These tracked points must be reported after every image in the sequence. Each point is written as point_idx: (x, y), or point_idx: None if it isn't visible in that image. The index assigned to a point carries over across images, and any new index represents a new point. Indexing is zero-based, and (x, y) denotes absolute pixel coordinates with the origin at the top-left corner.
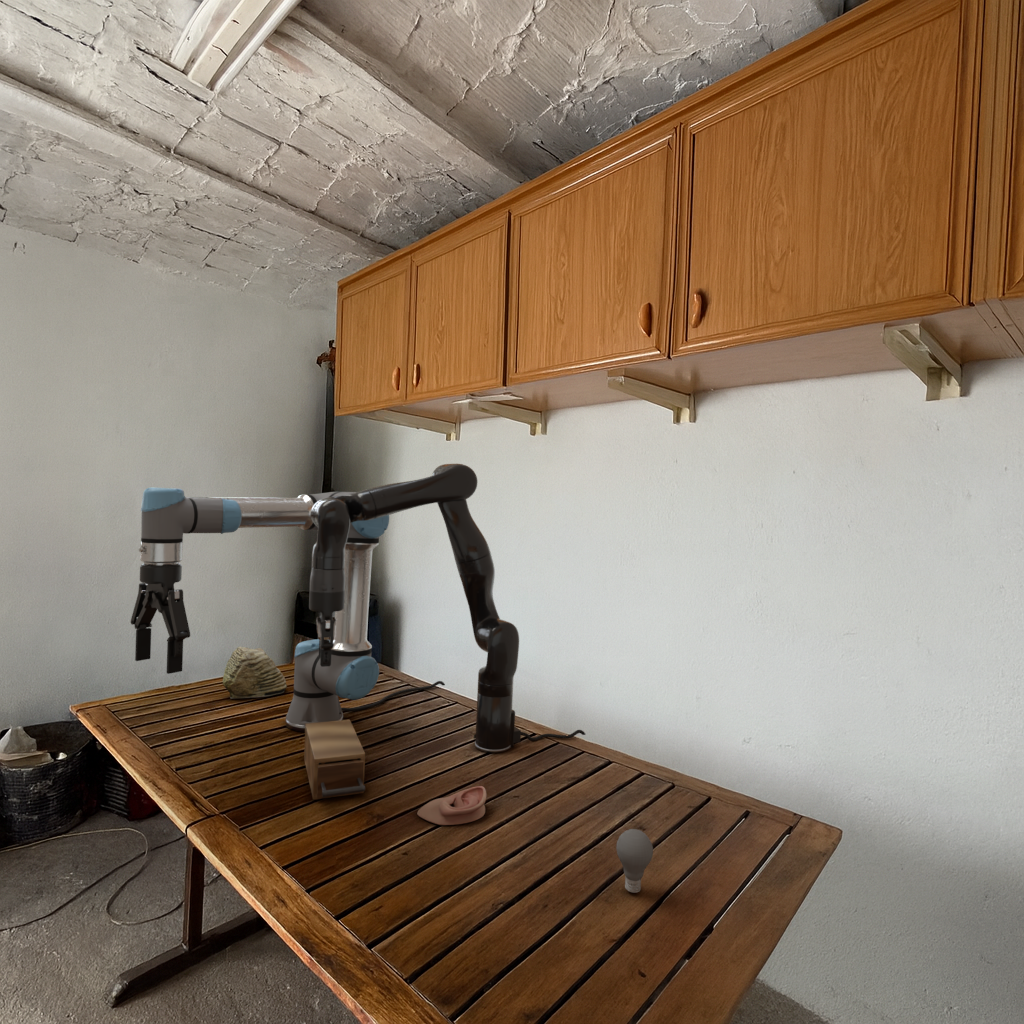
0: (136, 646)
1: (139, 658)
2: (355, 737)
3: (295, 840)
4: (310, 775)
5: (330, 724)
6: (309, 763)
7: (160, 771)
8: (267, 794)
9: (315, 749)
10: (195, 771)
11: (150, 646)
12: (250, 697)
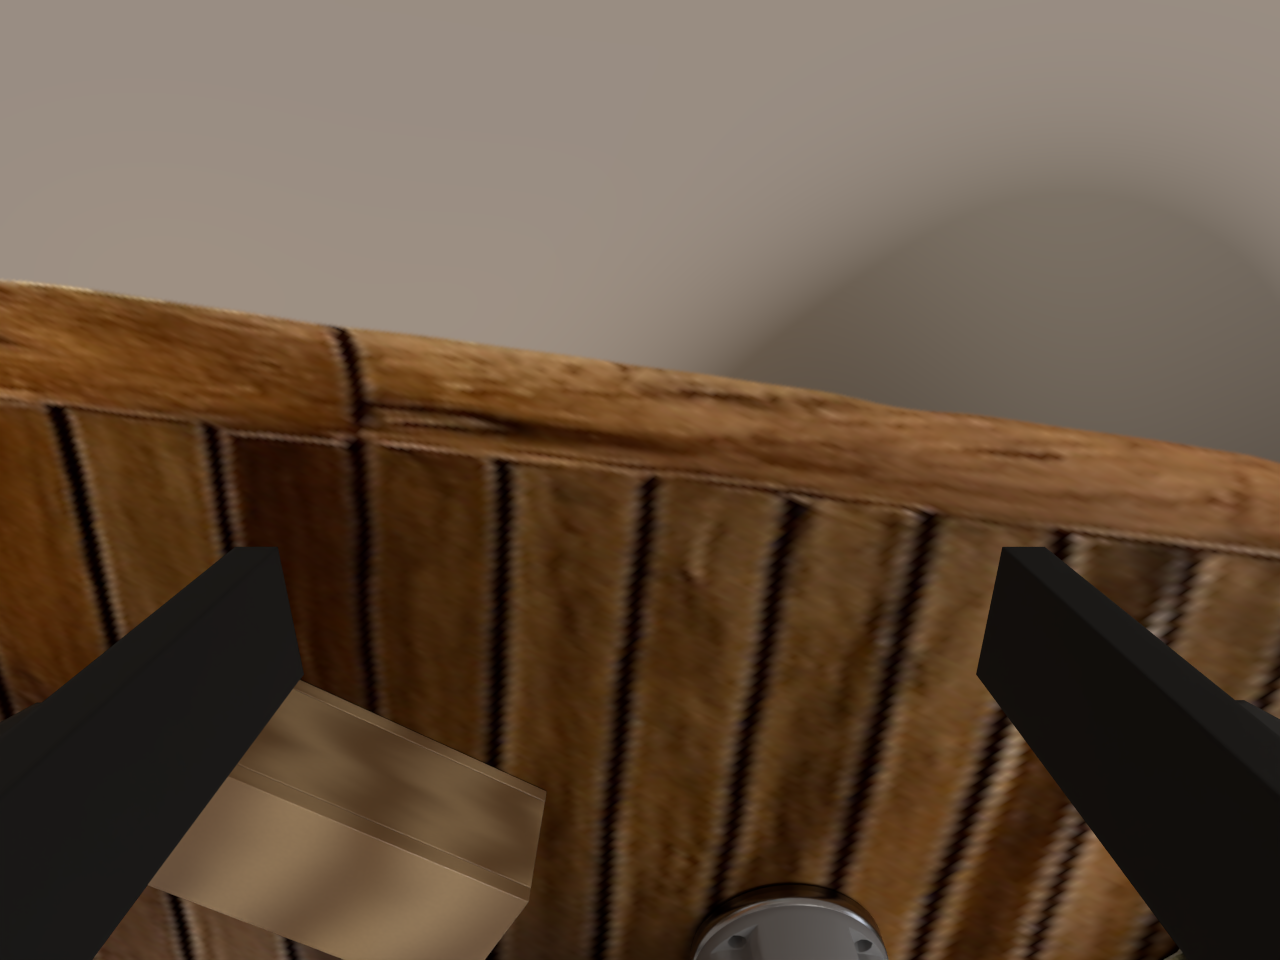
0: (1139, 645)
1: (1008, 584)
2: (277, 928)
3: (42, 496)
4: (332, 725)
5: (454, 944)
6: (364, 760)
7: (827, 459)
8: (384, 596)
9: (260, 800)
10: (727, 536)
11: (1053, 777)
12: (1178, 951)
